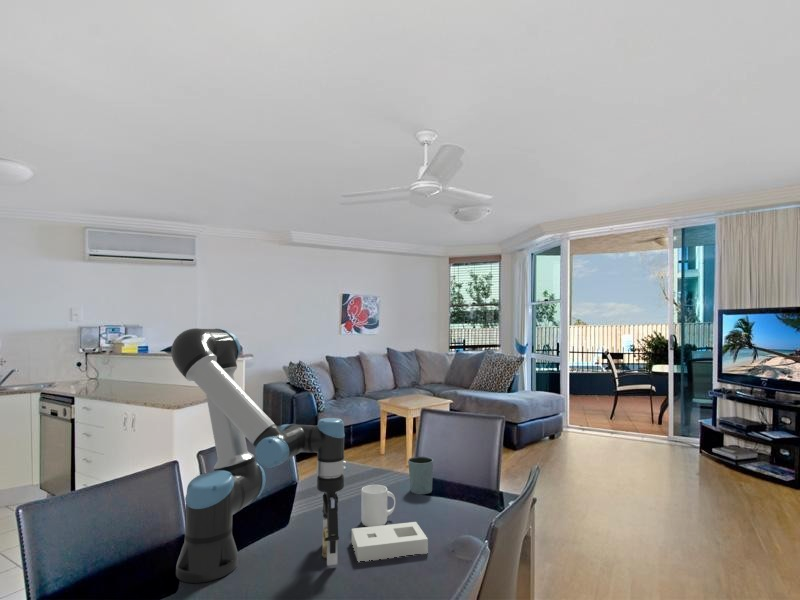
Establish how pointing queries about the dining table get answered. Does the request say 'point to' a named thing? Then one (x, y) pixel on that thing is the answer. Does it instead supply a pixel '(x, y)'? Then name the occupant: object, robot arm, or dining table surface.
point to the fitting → (325, 542)
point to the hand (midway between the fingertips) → (329, 552)
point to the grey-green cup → (420, 474)
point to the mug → (375, 505)
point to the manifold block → (388, 541)
